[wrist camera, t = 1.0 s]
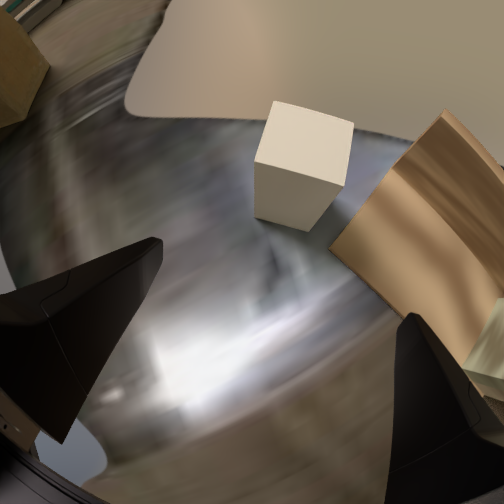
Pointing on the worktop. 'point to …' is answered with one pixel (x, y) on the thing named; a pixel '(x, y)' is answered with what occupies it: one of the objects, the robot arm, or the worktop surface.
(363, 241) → the wooden stand
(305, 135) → the bookend
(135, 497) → the worktop surface
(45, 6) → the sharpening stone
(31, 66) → the caddy
